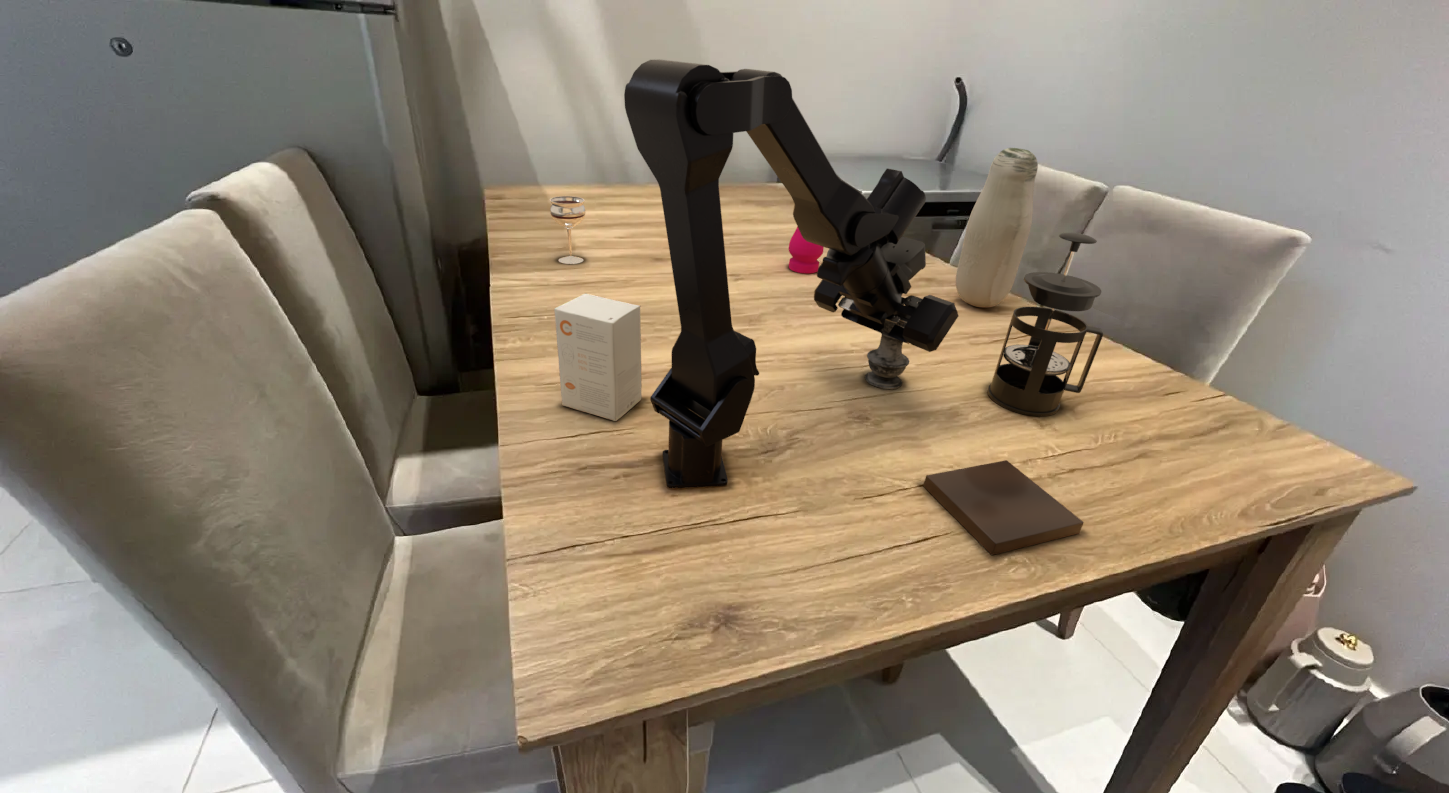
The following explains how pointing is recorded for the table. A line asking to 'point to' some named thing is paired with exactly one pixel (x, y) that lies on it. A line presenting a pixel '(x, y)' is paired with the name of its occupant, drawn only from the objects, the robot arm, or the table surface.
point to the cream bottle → (998, 230)
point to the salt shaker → (886, 361)
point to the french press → (1046, 342)
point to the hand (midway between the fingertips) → (898, 336)
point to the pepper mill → (803, 254)
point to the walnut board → (1002, 506)
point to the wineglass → (568, 219)
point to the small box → (599, 355)
